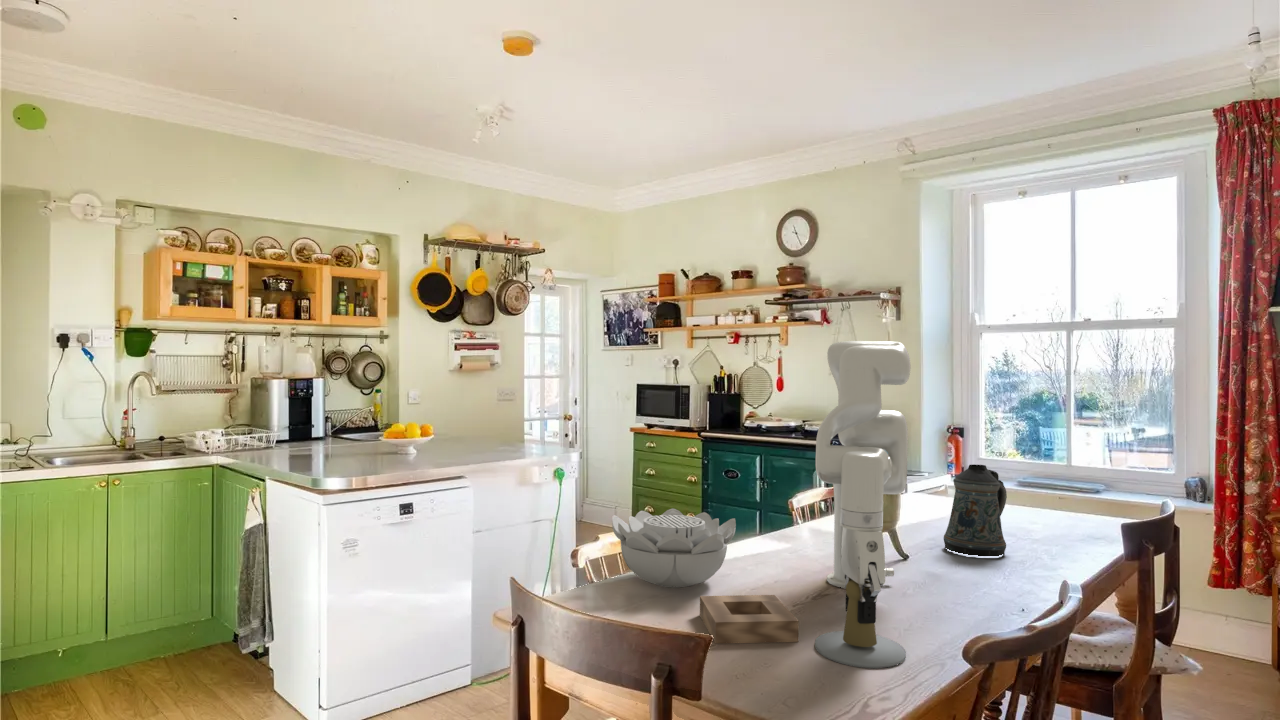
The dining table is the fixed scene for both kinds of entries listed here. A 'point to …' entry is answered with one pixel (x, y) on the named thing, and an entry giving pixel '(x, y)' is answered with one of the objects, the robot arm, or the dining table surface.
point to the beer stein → (977, 513)
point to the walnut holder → (748, 619)
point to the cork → (853, 629)
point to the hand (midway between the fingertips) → (860, 616)
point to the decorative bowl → (673, 546)
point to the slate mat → (860, 651)
